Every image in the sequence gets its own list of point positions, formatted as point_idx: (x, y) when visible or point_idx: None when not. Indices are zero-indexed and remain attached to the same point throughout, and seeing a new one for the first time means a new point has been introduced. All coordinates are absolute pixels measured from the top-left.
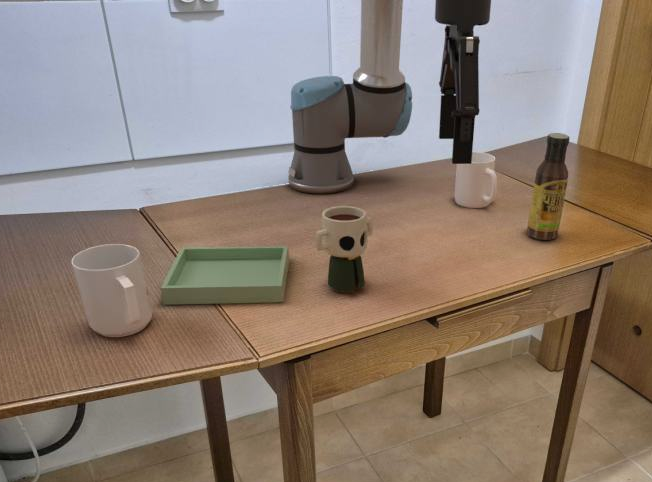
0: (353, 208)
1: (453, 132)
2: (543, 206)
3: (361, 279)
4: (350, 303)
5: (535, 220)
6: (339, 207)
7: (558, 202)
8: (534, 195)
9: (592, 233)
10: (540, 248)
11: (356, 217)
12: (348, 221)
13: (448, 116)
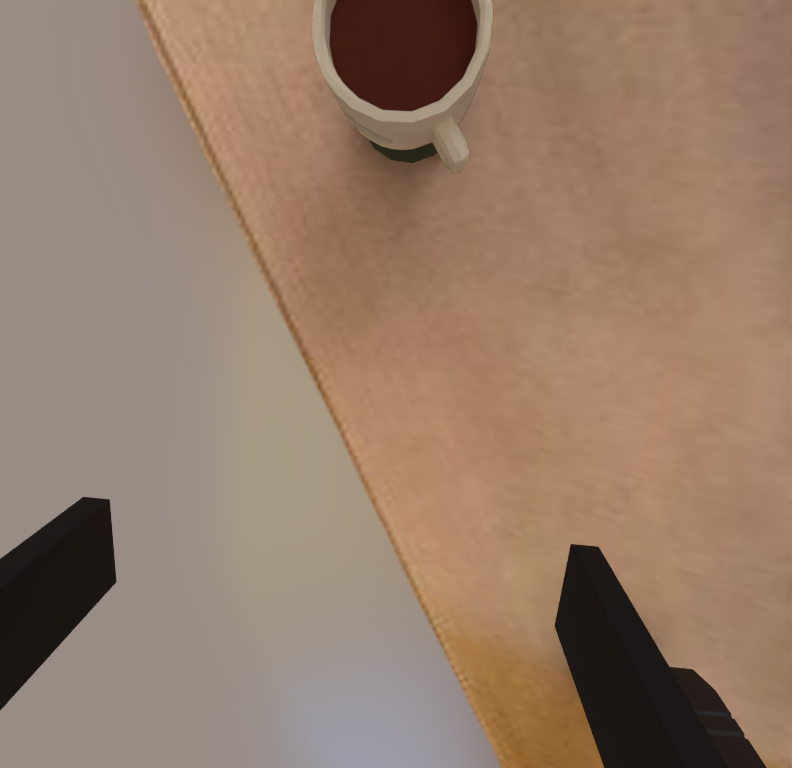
0: (465, 75)
1: (569, 637)
2: None
3: (378, 145)
4: (318, 113)
5: None
6: (480, 8)
7: None
8: None
9: None
10: (544, 627)
11: (435, 93)
12: (314, 36)
13: (605, 687)
